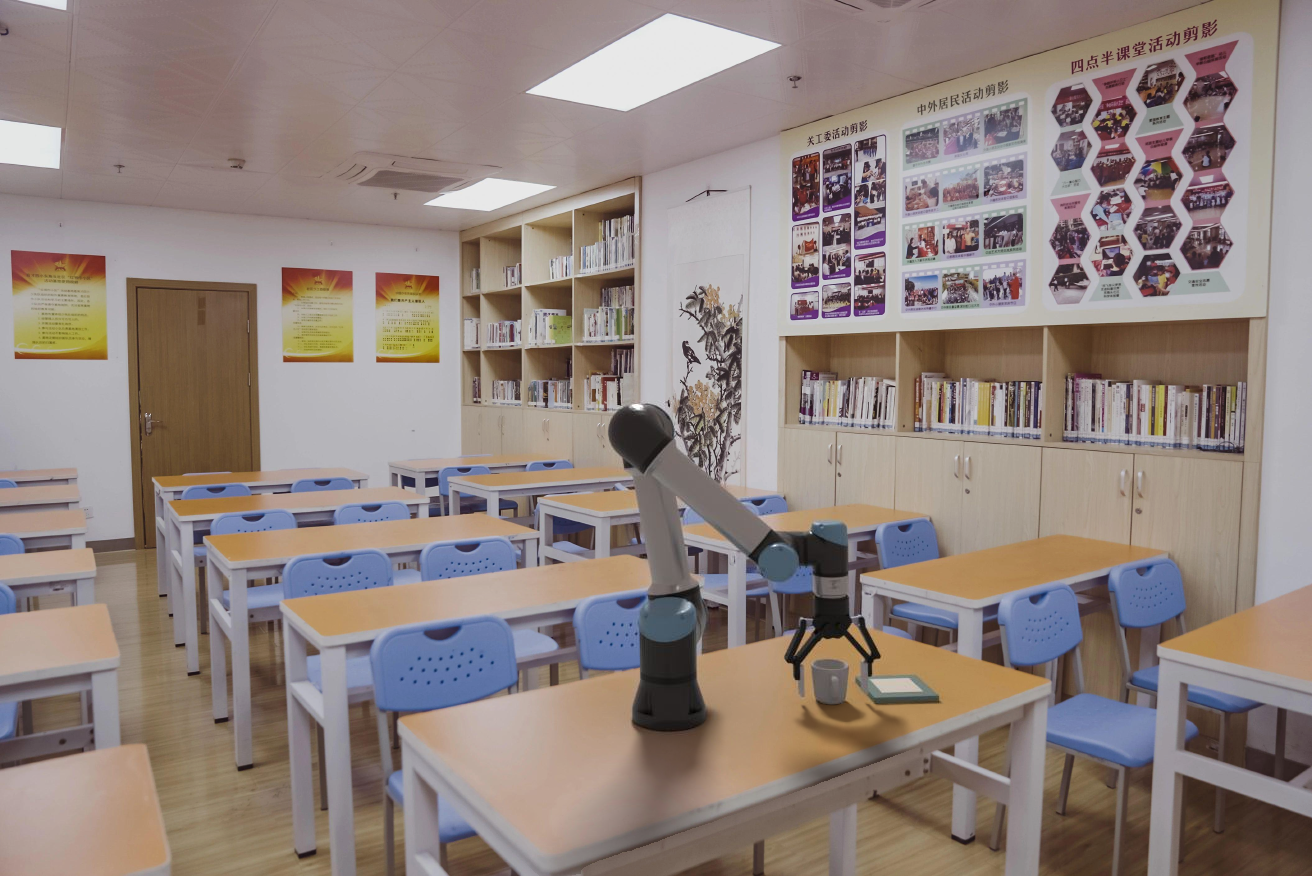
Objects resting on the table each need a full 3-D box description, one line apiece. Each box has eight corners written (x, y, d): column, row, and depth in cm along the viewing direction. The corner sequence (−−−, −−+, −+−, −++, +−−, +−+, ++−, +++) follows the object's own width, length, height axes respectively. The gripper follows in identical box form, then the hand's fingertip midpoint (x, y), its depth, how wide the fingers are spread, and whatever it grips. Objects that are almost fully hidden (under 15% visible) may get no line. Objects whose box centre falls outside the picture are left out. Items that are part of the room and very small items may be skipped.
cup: (855, 712, 177) (855, 673, 176) (816, 712, 177) (816, 674, 177) (845, 694, 188) (844, 658, 187) (808, 694, 188) (808, 658, 187)
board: (874, 703, 182) (874, 697, 182) (855, 681, 196) (855, 675, 196) (939, 700, 183) (939, 694, 182) (915, 679, 197) (915, 673, 196)
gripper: (776, 600, 177) (778, 702, 178) (894, 595, 178) (896, 696, 179) (769, 592, 184) (771, 689, 185) (883, 587, 186) (885, 684, 187)
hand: (833, 693), depth 182 cm, fingers open, 13 cm apart
